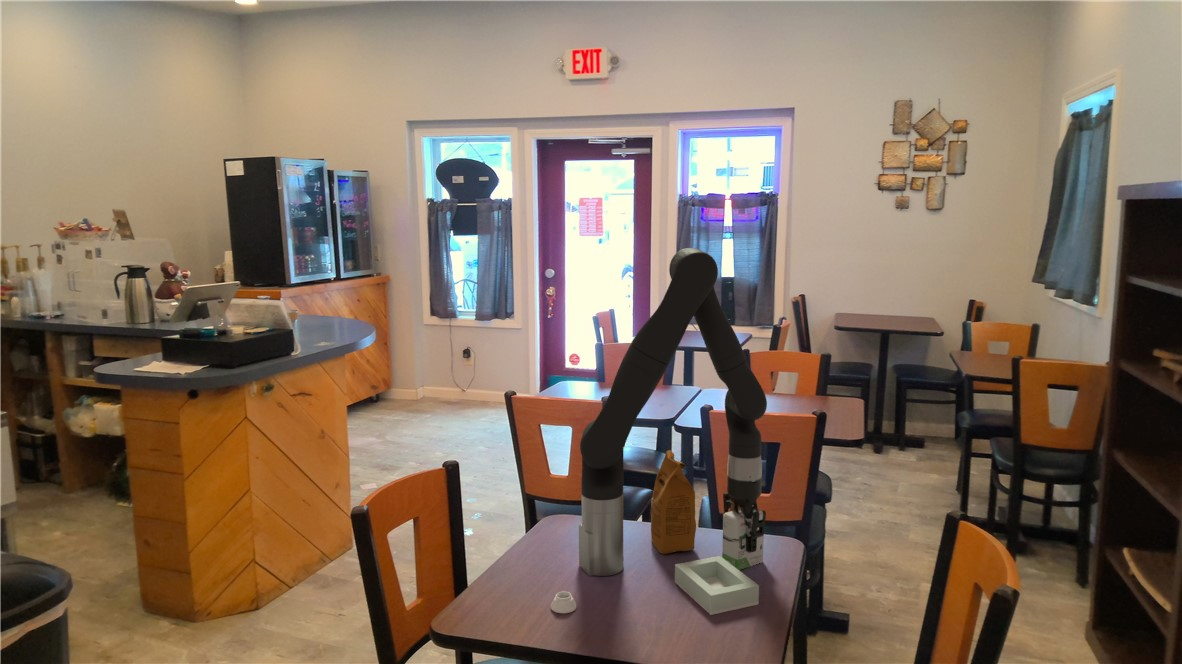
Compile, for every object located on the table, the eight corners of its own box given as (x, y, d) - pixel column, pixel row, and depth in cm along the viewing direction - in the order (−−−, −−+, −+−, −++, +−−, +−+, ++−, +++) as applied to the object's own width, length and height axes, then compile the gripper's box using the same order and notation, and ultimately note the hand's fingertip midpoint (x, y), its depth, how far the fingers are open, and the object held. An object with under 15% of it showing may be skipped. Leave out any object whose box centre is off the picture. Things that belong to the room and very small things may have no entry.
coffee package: (686, 533, 188) (687, 447, 185) (699, 554, 176) (700, 462, 173) (646, 535, 187) (647, 448, 184) (656, 556, 175) (657, 464, 172)
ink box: (736, 572, 167) (737, 520, 165) (720, 563, 171) (721, 513, 169) (764, 562, 172) (765, 512, 170) (748, 554, 176) (749, 505, 174)
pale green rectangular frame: (710, 614, 148) (711, 595, 148) (674, 582, 162) (674, 564, 162) (758, 604, 152) (759, 585, 152) (719, 573, 166) (719, 555, 166)
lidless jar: (571, 601, 155) (548, 605, 153) (571, 587, 154) (547, 591, 153) (579, 612, 150) (555, 617, 149) (579, 598, 150) (555, 602, 148)
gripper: (712, 466, 174) (712, 536, 176) (747, 486, 160) (746, 561, 163) (741, 462, 176) (739, 531, 179) (777, 481, 163) (775, 555, 165)
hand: (743, 545), depth 171 cm, fingers open, 6 cm apart
